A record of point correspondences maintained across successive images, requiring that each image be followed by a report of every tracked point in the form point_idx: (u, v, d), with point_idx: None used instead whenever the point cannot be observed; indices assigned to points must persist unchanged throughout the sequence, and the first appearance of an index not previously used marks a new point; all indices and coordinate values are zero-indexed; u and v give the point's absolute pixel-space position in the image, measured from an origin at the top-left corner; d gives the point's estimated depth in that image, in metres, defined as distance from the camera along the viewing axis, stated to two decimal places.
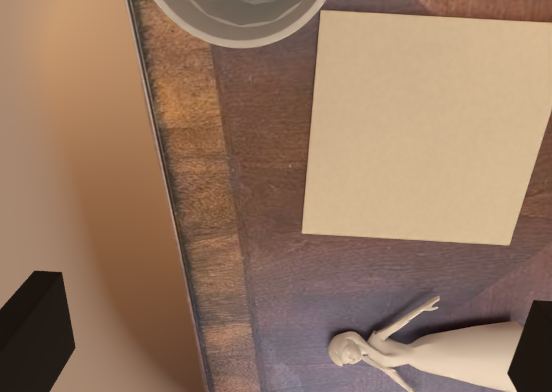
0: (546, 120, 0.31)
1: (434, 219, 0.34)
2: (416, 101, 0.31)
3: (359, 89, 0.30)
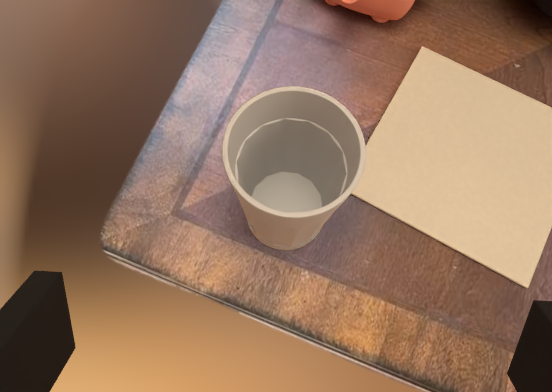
0: (484, 76, 0.41)
1: (547, 172, 0.38)
2: (436, 151, 0.38)
3: (410, 185, 0.37)
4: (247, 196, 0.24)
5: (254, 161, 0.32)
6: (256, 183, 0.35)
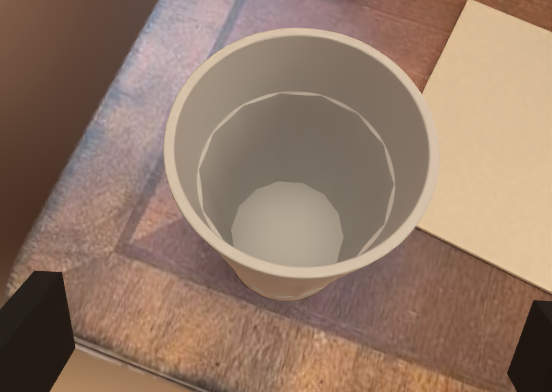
0: None
1: None
2: (502, 143, 0.26)
3: (469, 195, 0.25)
4: (213, 237, 0.12)
5: (234, 167, 0.20)
6: (241, 200, 0.23)
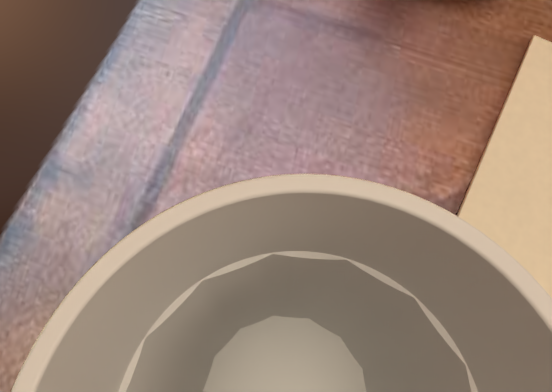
0: None
1: None
2: None
3: None
4: None
5: (199, 337, 0.12)
6: (217, 351, 0.16)
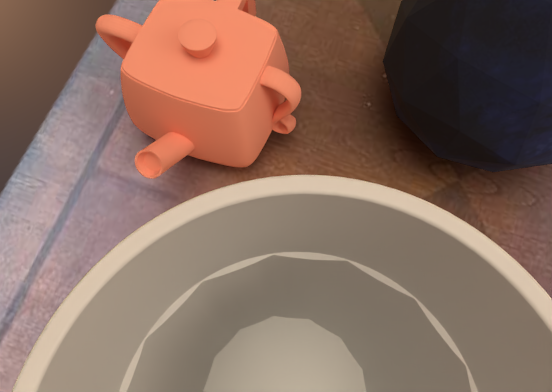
0: None
1: None
2: None
3: None
4: None
5: (199, 339, 0.12)
6: (217, 351, 0.16)
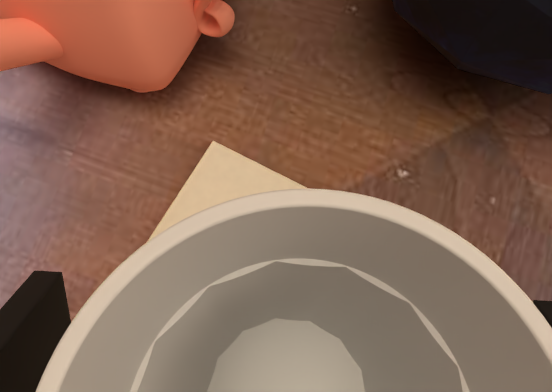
0: None
1: None
2: None
3: None
4: None
5: (204, 340, 0.13)
6: (221, 352, 0.16)
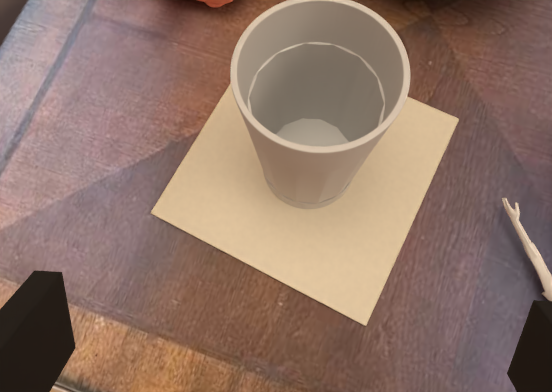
0: None
1: (400, 180, 0.31)
2: None
3: (232, 205, 0.31)
4: (265, 130, 0.19)
5: (270, 102, 0.27)
6: (274, 133, 0.30)
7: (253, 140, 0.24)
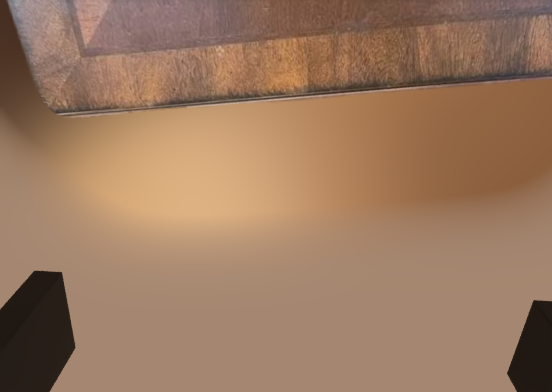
0: None
1: None
2: None
3: None
4: None
5: None
6: None
7: None
